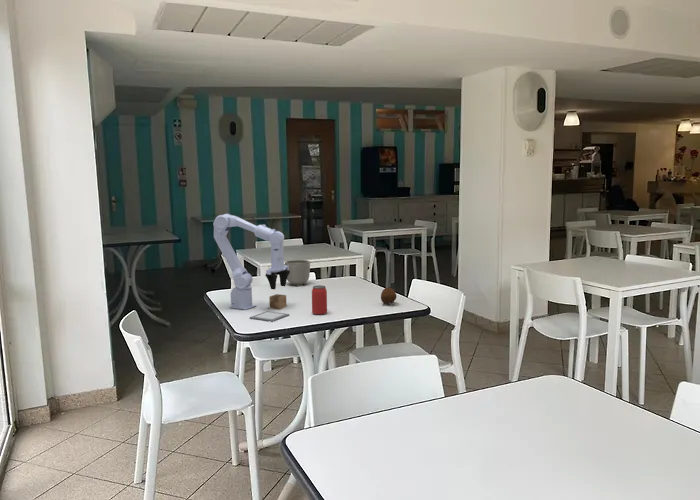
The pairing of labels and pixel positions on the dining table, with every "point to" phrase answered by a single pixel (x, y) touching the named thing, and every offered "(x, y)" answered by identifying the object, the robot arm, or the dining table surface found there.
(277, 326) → the dining table surface
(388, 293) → the potato
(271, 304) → the walnut block
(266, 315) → the slate coaster
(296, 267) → the planter
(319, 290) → the beer can
